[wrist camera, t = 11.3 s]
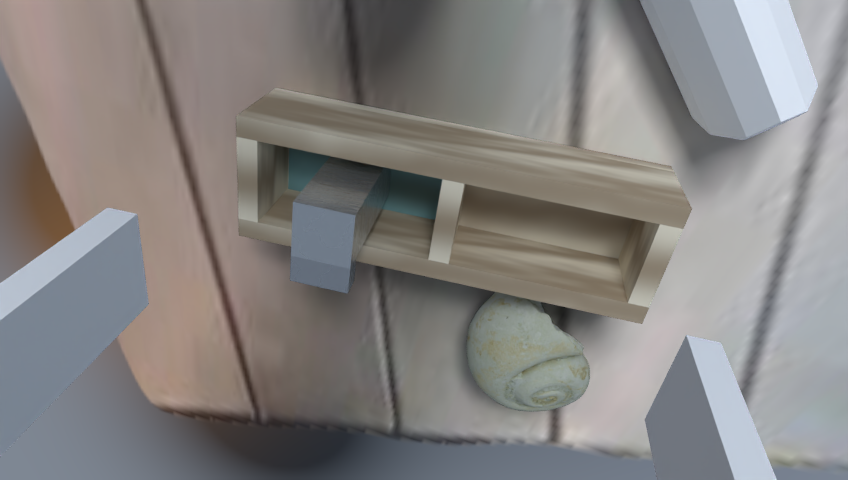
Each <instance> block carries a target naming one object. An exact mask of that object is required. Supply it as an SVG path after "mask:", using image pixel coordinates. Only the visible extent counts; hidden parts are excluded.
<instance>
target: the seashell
mask: <svg viewBox="0 0 848 480" xmlns="http://www.w3.org/2000/svg"><path fill="white" fill-rule="evenodd" d="M583 349H584V347H583V345H582V344H581V343H580V342H579V341H578V340H576V339H575V338H574V337H572V336H571V335H569V334H568V333H566V332H563V331H562V330H561V329H559V328H558V327H557V326H556V325H554V324H553V323H552V320H551V318H550V316H549V315H548V314H546V313H544V309H543V307H542V305H541V302H540V301H535V300H531V299H526V298H522V297H517V296H512V295H508V294H503V293H499V292H495V293H494V294H493V295H492V296H491V297H490V298H489V299H488V300H487V301H486V302H485V303H484V304H483V305H482V306H481V307H480V309H479V310H478V311H477V313H476V314H475V316H474V318H473V320H472V322H471V324H470V327H469V330H468V336H467V359H468V364H469V368H470V371H471V373H472V376H473V378H474V379H475V381H476V383H477V384H478V386H479V387H480V388H481V389H482V390H483V391H484V392H485V393H486V394H487V395H488V396H489V397H490V398H492V399H493V400H495V401H496V402H497V403H499V404H501V405H503V406H505V407H508V408H511V409H515V410H519V411H545V410H552V409H556V408H559V407H563V406H566V405H568V404H570V403H572V402H574V401H576V400H577V399H579V398H580V397H581V396H582V395H583V394H584V392H585V391H586V389H587V387H588V384H589V379H590V368H589V364H588V361H587V359H586V358H585V356H584V355H583Z"/></svg>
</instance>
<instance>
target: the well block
mask: <svg viewBox="0 0 848 480" xmlns="http://www.w3.org/2000/svg"><path fill="white" fill-rule="evenodd" d="M236 140H237V180H238V221H239V236H244V237H248V238H253V239H257V240H262V241H267V242H271V243H276V244H280V245H285V246H289V247H291V240H292V211H293V201H294V200H295V199H296V197H297V196H298V195H299V194H300V193H301V191H302V190H303V189H304V188H305V186H306V185H307V184H308V183H309V182H310V180H311V179H312V178H313V177H314V176H315V174H316V173H317V172H318V171H319V170H320V168H321V167H322V166H323V165H324V163H325V162H326V161H327V160H328V159H329V157H330V156H332V157H337V158H342V159H346V160H351V161H356V162H361V163H366V164H371V165H375V166H380V167H385V168H390V169H392V170H391V178H390V185H389V193H388V197H387V199H386V201H385V203H384V205H383V207H382V209H381V211H380V213H379V214H378V216H377V218H376V220H375V222H374V224H373V226H372V228H371V230H370V232H369V234H368V236H367V238H366V239H365V241H364V243H363V245H362V247H361V249H360V251H359V253H358V255H357V257H356V261H358V262H362V263H367V264H371V265H376V266H380V267H385V268H389V269H394V270H399V271H403V272H408V273H412V274H417V275H421V276H426V277H430V278H435V279H440V280H444V281H449V282H453V283H458V284H462V285H467V286H471V287H476V288H481V289H485V290H490V291H494V292H499V293H503V294H508V295H512V296H517V297H522V298H526V299H531V300H535V301H540V302H544V303H549V304H553V305H558V306H562V307H567V308H572V309H576V310H581V311H585V312H590V313H594V314H599V315H603V316H608V317H613V318H617V319H622V320H626V321H631V322H635V323H640V324H642V323H643V320H644V318H645V316H646V314H647V311H648V309H649V307H650V304H651V302H652V300H653V297H654V295H655V293H656V291H657V288H658V286H659V284H660V281H661V279H662V277H663V274H664V272H665V270H666V268H667V265H668V263H669V261H670V258H671V256H672V254H673V251H674V249H675V247H676V245H677V242H678V240H679V238H680V235H681V233H682V231H683V228H684V226H685V224H686V222H687V219H688V217H689V215H690V212H691V210H692V208H691V206H690V204H689V202H688V200H687V198H686V196H685V194H684V192H683V190H682V188H681V186H680V184H679V181H678V179H677V177H676V175H675V173H674V171H673V169H672V167H671V166H666V165H661V164H656V163H651V162H646V161H641V160H636V159H631V158H626V157H621V156H616V155H611V154H606V153H601V152H596V151H591V150H586V149H581V148H576V147H571V146H566V145H561V144H556V143H551V142H546V141H541V140H536V139H531V138H526V137H521V136H516V135H511V134H506V133H501V132H496V131H491V130H486V129H481V128H476V127H471V126H465V125H460V124H455V123H450V122H445V121H440V120H435V119H430V118H425V117H420V116H415V115H410V114H405V113H400V112H395V111H390V110H385V109H380V108H375V107H370V106H365V105H360V104H355V103H350V102H345V101H340V100H335V99H330V98H325V97H320V96H315V95H310V94H305V93H300V92H295V91H290V90H285V89H280V88H275V89H273V90H272V91H271V92H269V93H268V94H266V95H265V96H264V97H262V98H261V99H259V100H258V101H256V102H255V103H254V104H252V105H251V106H249V107H248V108H247V109H245V110H244V111H242V112H241V113H239V114H238V115H237V116H236Z"/></svg>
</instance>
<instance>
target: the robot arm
mask: <svg viewBox="0 0 848 480" xmlns="http://www.w3.org/2000/svg"><path fill="white" fill-rule="evenodd" d="M148 304H149V303H148V295H147V287H146V279H145V271H144V263H143V255H142V248H141V240H140V232H139V224H138V216H137V214H135V213H130V212H125V211H121V210H116V209H112V208H106V209H105V210H103V211H102V212H101V213H99V214H98V215H96V216H95V217H93V218H92V219H91V220H89V221H88V222H86V223H85V224H84V225H82V226H81V227H79V228H78V229H76V230H75V231H74V232H72V233H71V234H70V235H68V236H67V237H65V238H64V239H62V240H61V241H60V242H58V243H57V244H55V245H54V246H53V247H51V248H50V249H48V250H47V251H45V252H44V253H43V254H41V255H40V256H38V257H37V258H35V259H34V260H33V261H32V262H30V263H28V264H27V265H26V266H24V267H23V268H21V269H20V270H19V271H17V272H16V273H14V274H13V275H11V276H10V277H9V278H7V279H6V280H5V281H3V282H2V283H0V456H1V455H2V454H3V453H4V452H5V451H6V450H7V449H8V448H9V447H10V446H11V445H12V444H13V443H14V442H15V441H16V440H17V439H18V438H19V437H20V436H21V435H22V434H23V433H24V432H25V431H26V430H27V429H28V428H29V427H30V426H31V425H32V424H33V423H34V421H35V420H36V419H37V418H38V417H39V416H40V415H41V414H42V413H43V412H44V411H45V410H46V409H47V408H48V407H49V406H50V405H51V404H52V403H53V402H54V401H55V400H56V399H57V398H58V397H59V396H60V395H61V394H62V393H63V392H64V391H65V390H66V389H67V388H68V387H69V385H71V383H73V381H74V380H75V379H76V378H77V377H78V376H79V375H80V374H81V373H82V372H83V371H84V370H85V369H86V368H87V367H88V366H89V365H90V364H91V363H92V362H93V361H94V360H95V359H96V358H97V357H98V356H99V355H100V354H101V353H102V352H103V351H104V349H106V347H108V346H109V344H110V343H111V342H112V341H113V340H114V339H115V338H116V337H117V336H118V335H119V334H120V333H121V332H122V331H123V330H124V329H125V328H126V327H127V326H128V325H129V324H130V323H131V322H132V321H133V320H134V319H135V318H136V317H137V316H138V315H139V314H140V313H141V312H142V311H143V310H144V309H145V307H146V306H147V305H148ZM645 422H646V427H647V432H648V437H649V442H650V447H651V452H652V457H653V462H654V467H655V472H656V477H657V480H776V477H775V475H774V472H773V470H772V467H771V465H770V462H769V460H768V457H767V455H766V452H765V450H764V447H763V445H762V443H761V440H760V438H759V435H758V433H757V430H756V428H755V425H754V423H753V420H752V418H751V415H750V413H749V411H748V408H747V406H746V403H745V401H744V398H743V396H742V393H741V391H740V388H739V386H738V383H737V381H736V379H735V376H734V374H733V371H732V369H731V366H730V364H729V361H728V359H727V356H726V354H725V352H724V349H723V347H722V344H721V343H720V342H715V341H711V340H706V339H702V338H697V337H693V336H688V335H686V337H685V339H684V341H683V343H682V345H681V347H680V349H679V351H678V353H677V355H676V357H675V359H674V361H673V363H672V365H671V367H670V369H669V371H668V373H667V375H666V378H665V380H664V382H663V384H662V386H661V388H660V390H659V392H658V394H657V396H656V398H655V400H654V402H653V404H652V406H651V408H650V410H649V412H648V414H647V416H646V418H645Z"/></svg>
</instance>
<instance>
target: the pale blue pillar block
mask: <svg viewBox="0 0 848 480" xmlns="http://www.w3.org/2000/svg"><path fill="white" fill-rule="evenodd" d="M391 170H392V169H390V168H385V167H380V166H375V165H371V164H366V163H361V162H356V161H351V160H346V159H342V158H337V157H332V156H330V157H329V159H328V160H327V161H326V162H325V163H324V165H323V166H322V167H321V168H320V170H319V171H318V172H317V173H316V174H315V176H314V177H313V178H312V179H311V180H310V182H309V183H308V184H307V185H306V186H305V188H304V189H303V190H302V191H301V193H300V194H299V195H298V196H297V197H296V199H295V200H294V201H293V211H292V240H291V268H290V281H295V282H299V283H303V284H308V285H312V286H317V287H321V288H325V289H330V290H334V291H339V292H343V293H347V294H348V292H349V290H350V288H351V286H352V284H353V282H354V275H355V266H356V257H357V255H358V253H359V251H360V249H361V247H362V245H363V243H364V241H365V239H366V238H367V236H368V234H369V232H370V230H371V228H372V226H373V224H374V222H375V220H376V218H377V216H378V214H379V213H380V211H381V209H382V207H383V205H384V203H385V201H386V199H387V197H388V193H389V185H390V178H391Z"/></svg>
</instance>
